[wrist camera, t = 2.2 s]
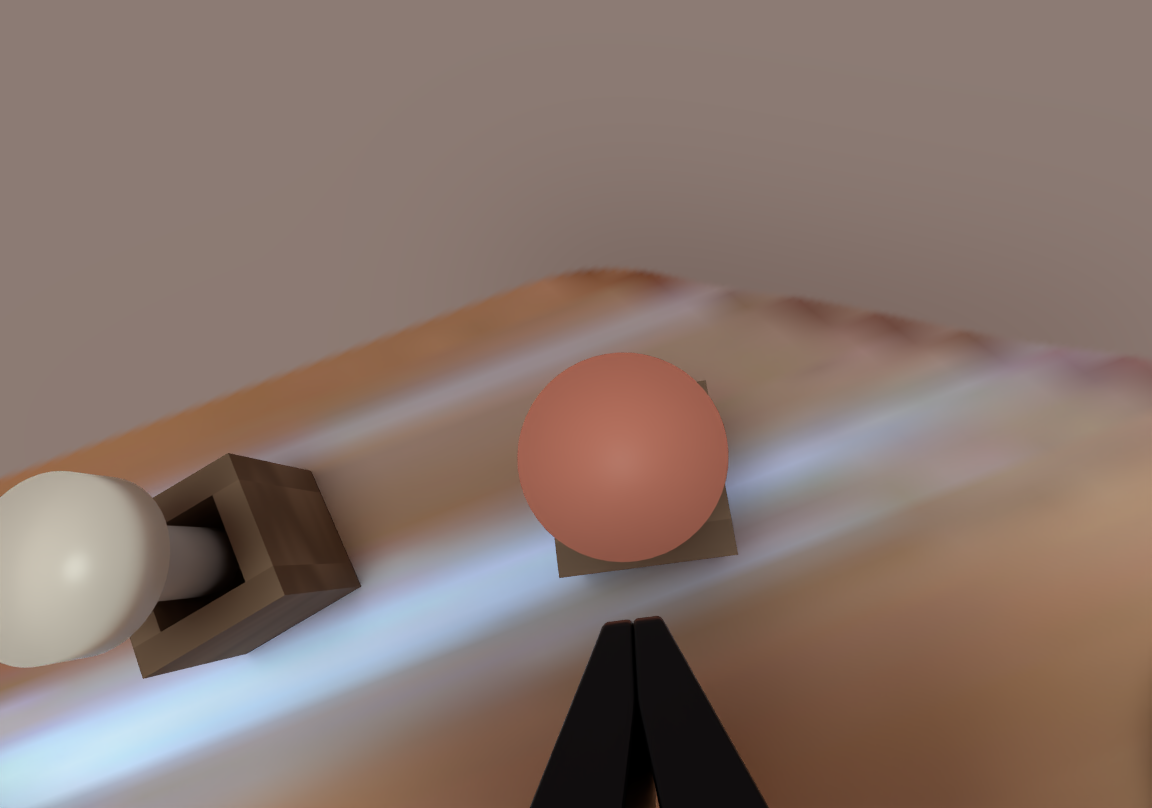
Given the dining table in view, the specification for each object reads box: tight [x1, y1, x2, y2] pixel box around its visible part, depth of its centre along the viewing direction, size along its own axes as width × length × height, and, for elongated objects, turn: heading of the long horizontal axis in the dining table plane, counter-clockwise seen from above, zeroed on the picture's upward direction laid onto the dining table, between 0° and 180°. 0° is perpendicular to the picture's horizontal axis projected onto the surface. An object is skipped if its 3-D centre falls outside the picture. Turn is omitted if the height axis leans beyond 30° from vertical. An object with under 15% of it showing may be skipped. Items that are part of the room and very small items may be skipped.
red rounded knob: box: [518, 353, 728, 562], centre depth 15 cm, size 4×4×5 cm
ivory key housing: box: [130, 453, 361, 679], centre depth 20 cm, size 5×5×4 cm
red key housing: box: [555, 380, 738, 578], centre depth 19 cm, size 5×5×4 cm
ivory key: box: [0, 471, 239, 668], centre depth 16 cm, size 4×4×5 cm
